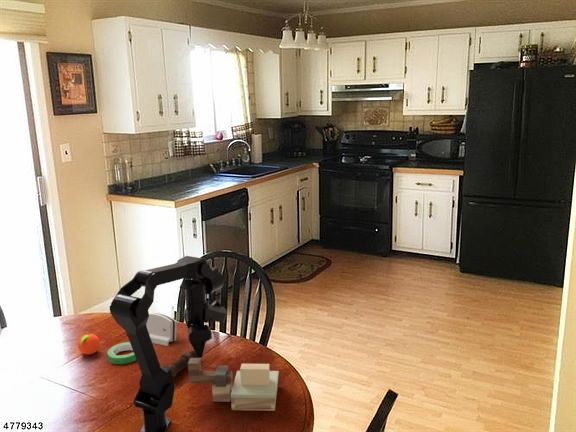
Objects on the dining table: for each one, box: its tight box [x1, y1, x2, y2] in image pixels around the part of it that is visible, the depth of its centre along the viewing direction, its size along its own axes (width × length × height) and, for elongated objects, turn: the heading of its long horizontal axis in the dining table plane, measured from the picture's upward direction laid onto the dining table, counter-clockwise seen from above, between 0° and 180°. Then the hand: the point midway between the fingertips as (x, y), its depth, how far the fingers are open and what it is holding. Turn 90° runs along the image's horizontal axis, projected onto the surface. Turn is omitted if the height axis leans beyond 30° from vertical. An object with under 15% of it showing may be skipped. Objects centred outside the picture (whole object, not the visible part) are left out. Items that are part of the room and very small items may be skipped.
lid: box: [231, 363, 280, 399], centre depth 144 cm, size 12×12×6 cm
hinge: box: [146, 312, 177, 347], centre depth 183 cm, size 17×5×10 cm, turn 67°
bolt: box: [160, 349, 198, 379], centre depth 161 cm, size 6×5×15 cm
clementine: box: [77, 333, 101, 356], centre depth 172 cm, size 8×7×7 cm
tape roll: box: [107, 341, 137, 365], centre depth 171 cm, size 11×11×3 cm
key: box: [187, 358, 233, 384], centre depth 144 cm, size 3×12×6 cm, turn 87°
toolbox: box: [211, 365, 279, 411], centre depth 145 cm, size 12×18×9 cm, turn 87°
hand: (198, 350), depth 147 cm, fingers open, 9 cm apart
